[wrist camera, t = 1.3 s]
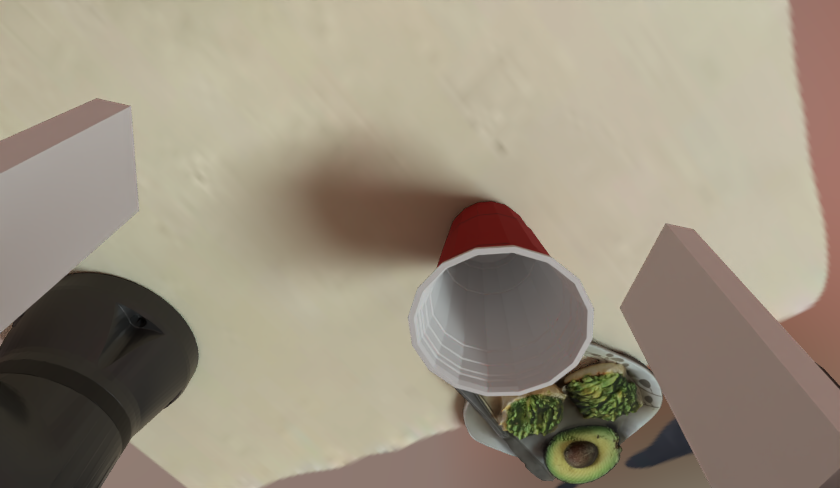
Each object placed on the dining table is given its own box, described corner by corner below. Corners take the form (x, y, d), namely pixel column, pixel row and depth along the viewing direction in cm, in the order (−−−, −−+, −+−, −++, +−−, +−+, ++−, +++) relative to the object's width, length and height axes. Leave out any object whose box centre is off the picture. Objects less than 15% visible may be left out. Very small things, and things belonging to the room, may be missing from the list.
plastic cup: (500, 137, 35) (524, 216, 25) (581, 239, 39) (631, 343, 29) (387, 223, 39) (368, 322, 29) (472, 308, 43) (481, 421, 33)
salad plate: (410, 413, 51) (408, 453, 47) (509, 291, 43) (516, 326, 39) (565, 475, 55) (574, 516, 51) (682, 375, 47) (704, 415, 43)
